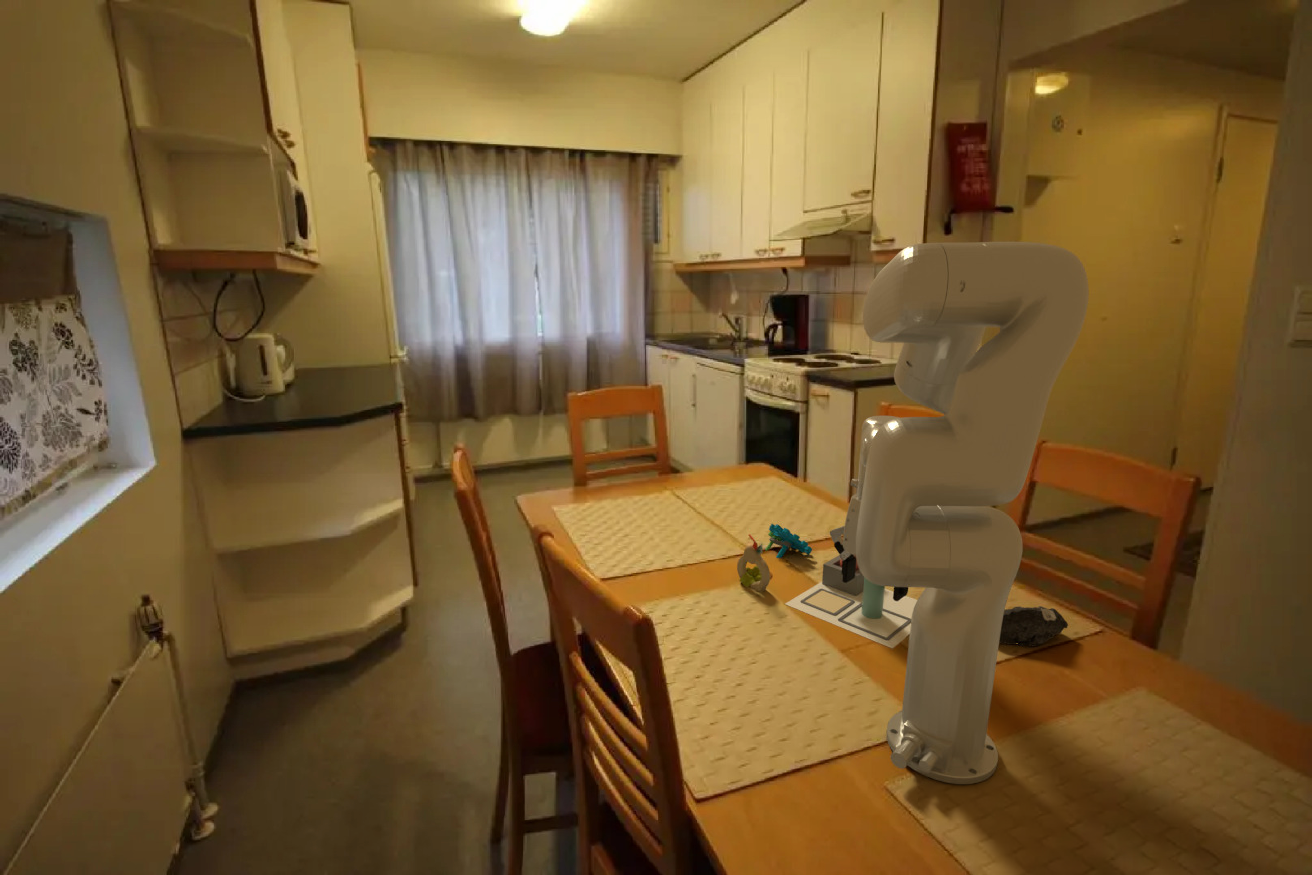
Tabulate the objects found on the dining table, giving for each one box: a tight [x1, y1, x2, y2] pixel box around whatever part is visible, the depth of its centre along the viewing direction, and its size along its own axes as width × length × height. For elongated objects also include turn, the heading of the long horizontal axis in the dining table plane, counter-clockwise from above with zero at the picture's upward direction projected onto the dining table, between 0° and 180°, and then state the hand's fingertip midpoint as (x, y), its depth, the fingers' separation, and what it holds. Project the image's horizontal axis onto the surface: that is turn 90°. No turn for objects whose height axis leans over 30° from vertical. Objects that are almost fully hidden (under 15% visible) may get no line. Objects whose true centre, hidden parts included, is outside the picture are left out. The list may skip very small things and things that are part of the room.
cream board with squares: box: [784, 581, 918, 650], centre depth 114 cm, size 18×20×1 cm
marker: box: [861, 577, 886, 619], centre depth 110 cm, size 4×4×11 cm
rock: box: [999, 605, 1069, 647], centre depth 104 cm, size 12×8×10 cm
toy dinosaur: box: [764, 523, 813, 559], centre depth 135 cm, size 11×6×10 cm
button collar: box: [821, 554, 864, 596], centre depth 122 cm, size 7×7×4 cm
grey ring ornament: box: [736, 533, 773, 593], centre depth 121 cm, size 8×8×12 cm
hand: (873, 588), depth 110 cm, fingers open, 8 cm apart
